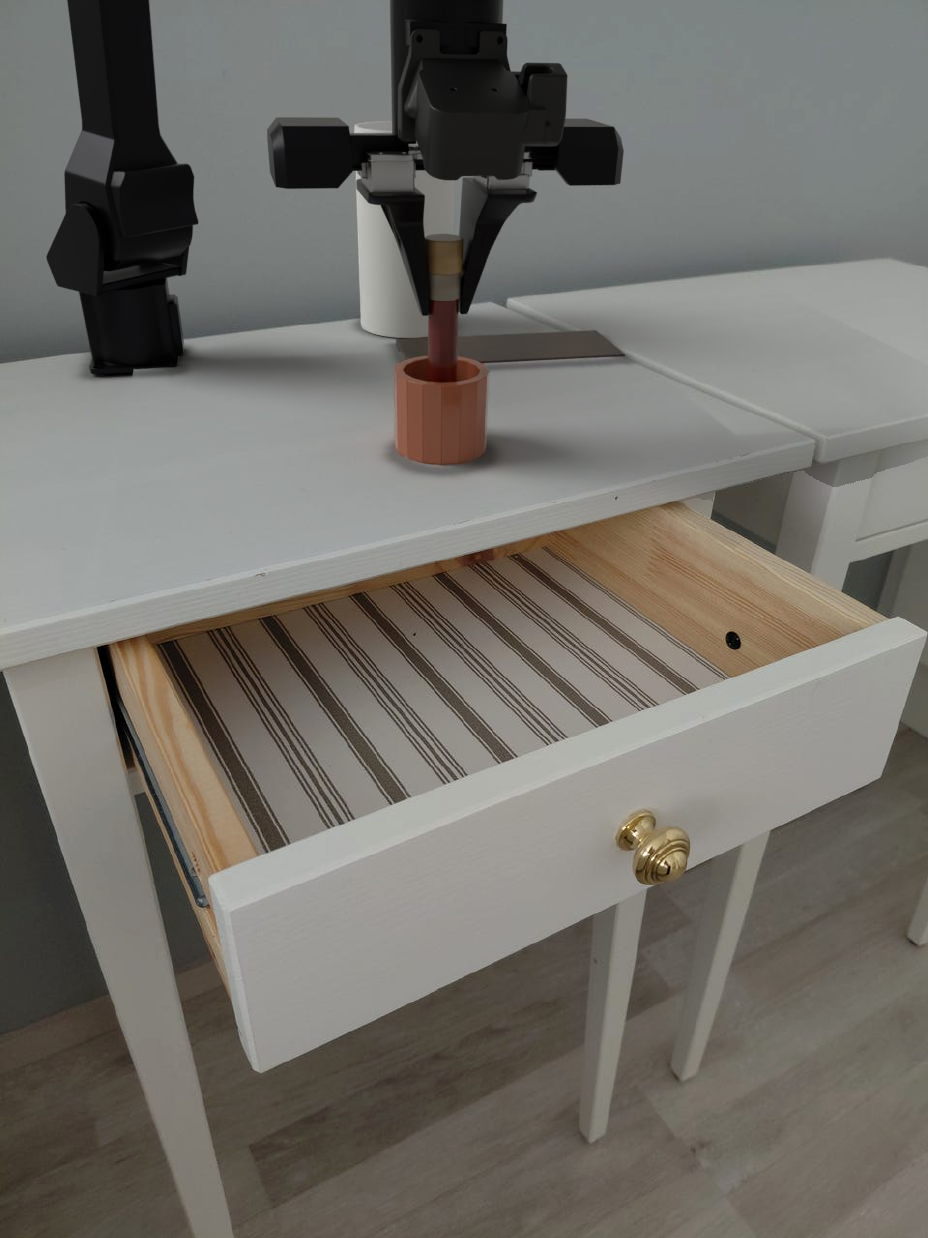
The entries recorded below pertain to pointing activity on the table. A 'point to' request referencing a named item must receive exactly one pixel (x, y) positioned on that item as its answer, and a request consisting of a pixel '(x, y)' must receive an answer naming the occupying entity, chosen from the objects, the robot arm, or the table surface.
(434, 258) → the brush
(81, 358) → the table surface
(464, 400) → the pot
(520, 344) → the mat
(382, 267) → the cup
